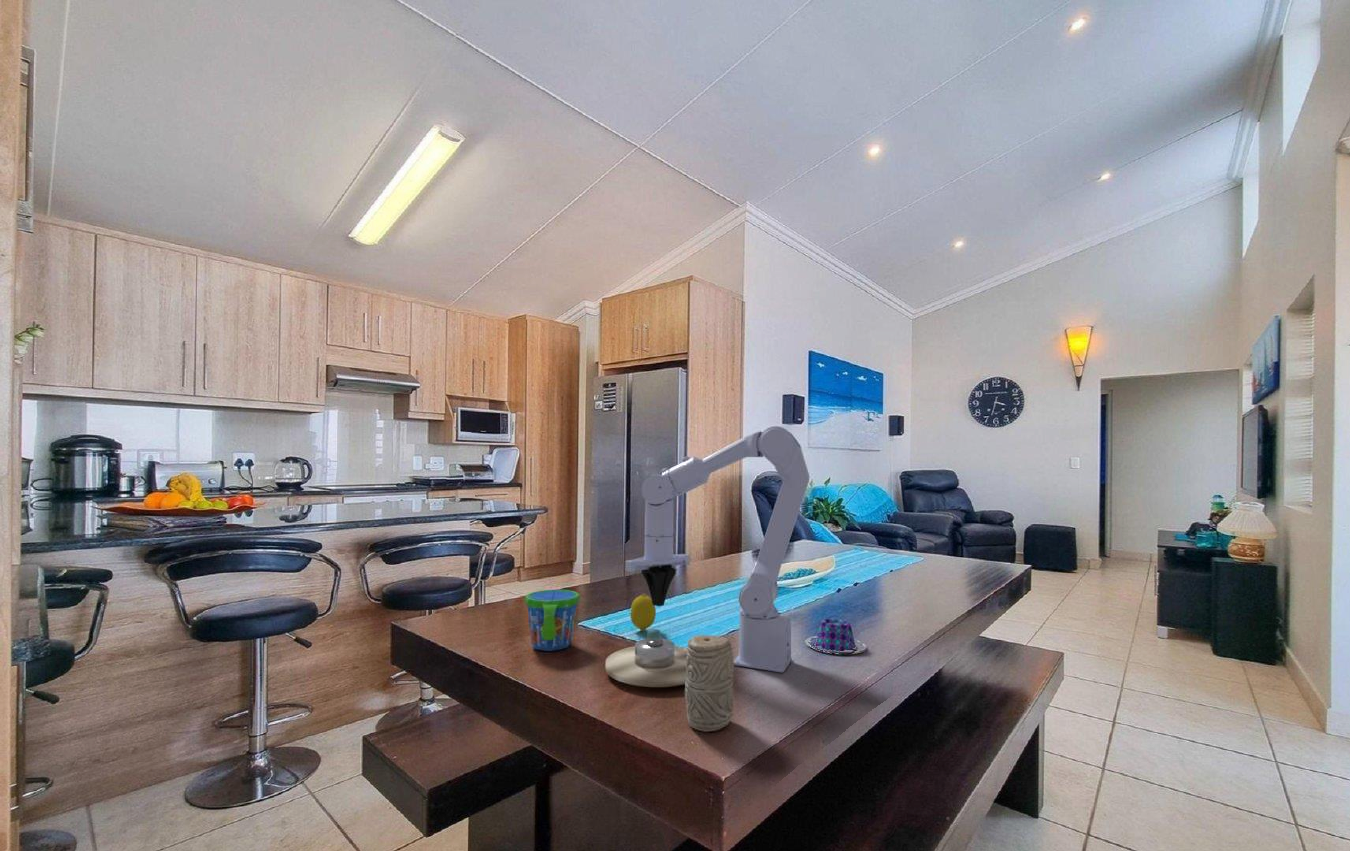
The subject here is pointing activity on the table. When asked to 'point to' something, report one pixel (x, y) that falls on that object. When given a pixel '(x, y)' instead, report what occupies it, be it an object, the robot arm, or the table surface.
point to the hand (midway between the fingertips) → (658, 605)
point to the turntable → (628, 672)
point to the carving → (709, 682)
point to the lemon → (643, 612)
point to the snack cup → (551, 618)
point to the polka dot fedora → (835, 636)
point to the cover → (654, 653)
